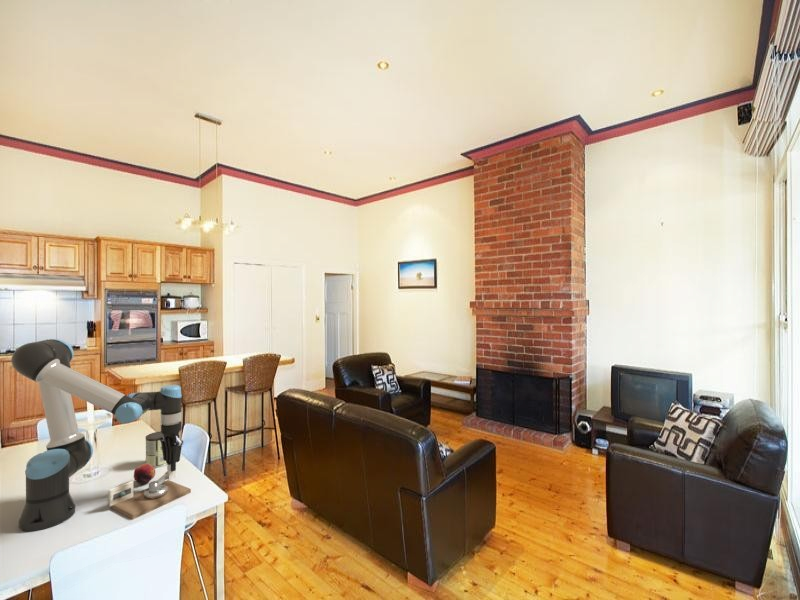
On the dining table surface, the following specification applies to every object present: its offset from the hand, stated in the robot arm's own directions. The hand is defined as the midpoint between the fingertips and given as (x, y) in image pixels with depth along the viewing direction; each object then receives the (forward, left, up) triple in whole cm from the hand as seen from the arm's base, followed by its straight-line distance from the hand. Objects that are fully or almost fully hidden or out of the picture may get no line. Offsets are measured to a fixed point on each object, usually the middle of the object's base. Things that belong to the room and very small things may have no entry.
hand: (171, 478), depth 162 cm
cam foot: (-5, 0, -3) cm, 5 cm away
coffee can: (+11, +30, -5) cm, 33 cm away
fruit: (-3, +15, -5) cm, 16 cm away
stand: (-9, -2, -5) cm, 10 cm away
